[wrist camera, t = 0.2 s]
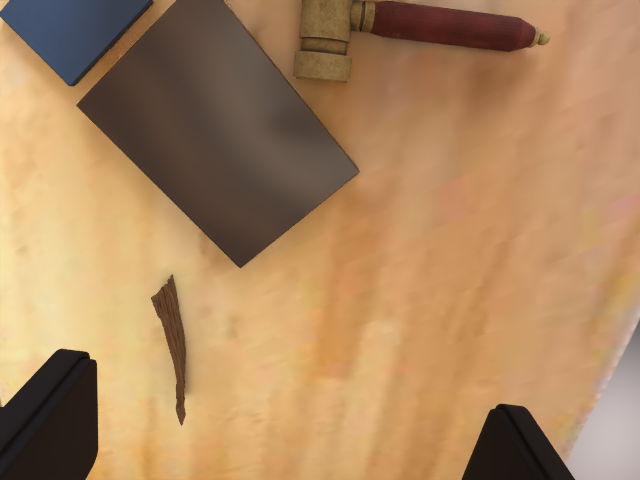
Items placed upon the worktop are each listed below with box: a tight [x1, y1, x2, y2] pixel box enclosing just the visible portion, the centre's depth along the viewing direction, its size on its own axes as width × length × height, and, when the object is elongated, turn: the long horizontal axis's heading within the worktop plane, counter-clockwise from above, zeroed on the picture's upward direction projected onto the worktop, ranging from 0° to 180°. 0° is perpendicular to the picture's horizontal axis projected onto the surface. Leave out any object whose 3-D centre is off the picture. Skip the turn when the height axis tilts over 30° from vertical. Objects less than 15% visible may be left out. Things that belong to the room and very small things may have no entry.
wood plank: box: [151, 274, 186, 426], centre depth 43 cm, size 15×2×5 cm, turn 0°
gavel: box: [293, 0, 550, 83], centre depth 33 cm, size 21×5×10 cm
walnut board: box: [76, 0, 360, 268], centre depth 37 cm, size 15×20×2 cm
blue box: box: [0, 0, 153, 86], centre depth 33 cm, size 10×7×1 cm
